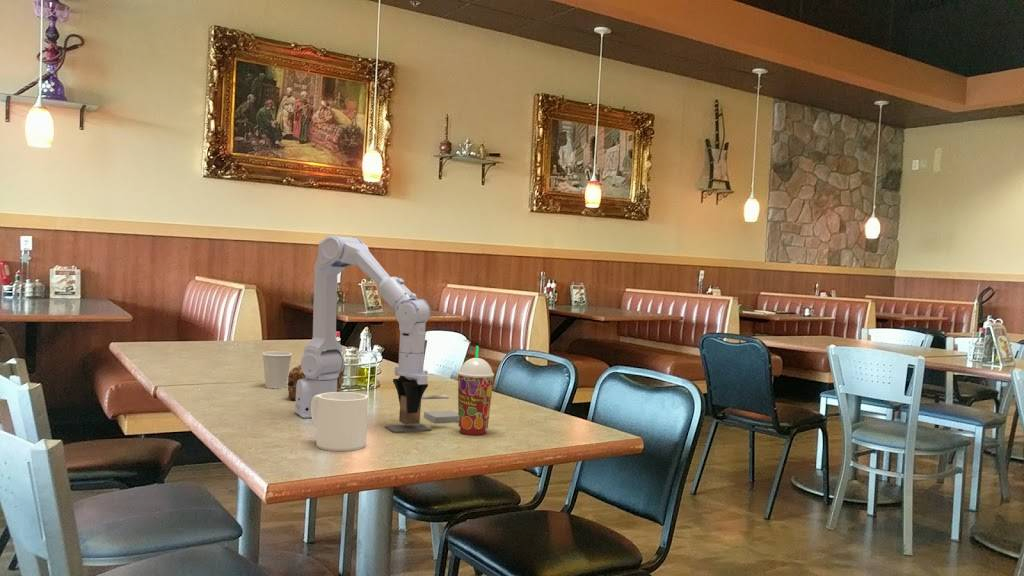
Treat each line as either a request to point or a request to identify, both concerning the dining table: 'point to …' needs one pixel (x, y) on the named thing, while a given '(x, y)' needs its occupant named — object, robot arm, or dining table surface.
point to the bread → (298, 374)
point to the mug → (340, 420)
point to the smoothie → (474, 395)
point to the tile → (441, 416)
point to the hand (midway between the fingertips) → (408, 411)
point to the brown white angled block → (415, 417)
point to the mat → (407, 428)
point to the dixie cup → (276, 368)
